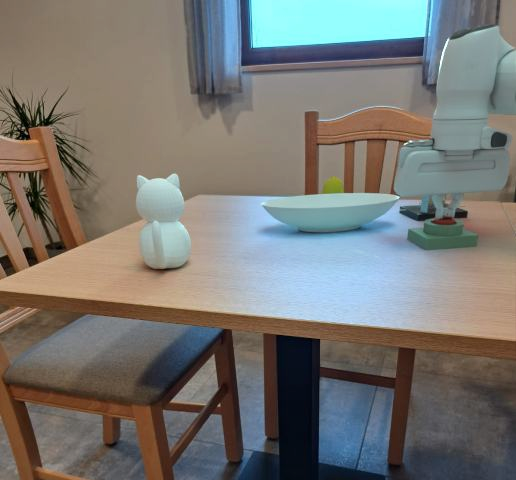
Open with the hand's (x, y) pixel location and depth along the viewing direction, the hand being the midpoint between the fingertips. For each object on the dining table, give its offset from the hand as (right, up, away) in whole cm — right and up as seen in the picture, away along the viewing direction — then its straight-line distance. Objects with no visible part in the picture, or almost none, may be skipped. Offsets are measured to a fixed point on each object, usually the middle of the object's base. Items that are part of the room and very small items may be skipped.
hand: (444, 218), depth 86 cm
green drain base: (0, -4, +2) cm, 5 cm away
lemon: (-15, +12, +34) cm, 40 cm away
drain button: (0, -2, +1) cm, 2 cm away
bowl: (-19, +2, +15) cm, 25 cm away
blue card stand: (+7, +9, +23) cm, 25 cm away
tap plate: (+7, +7, +24) cm, 26 cm away
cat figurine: (-51, -10, -5) cm, 52 cm away
